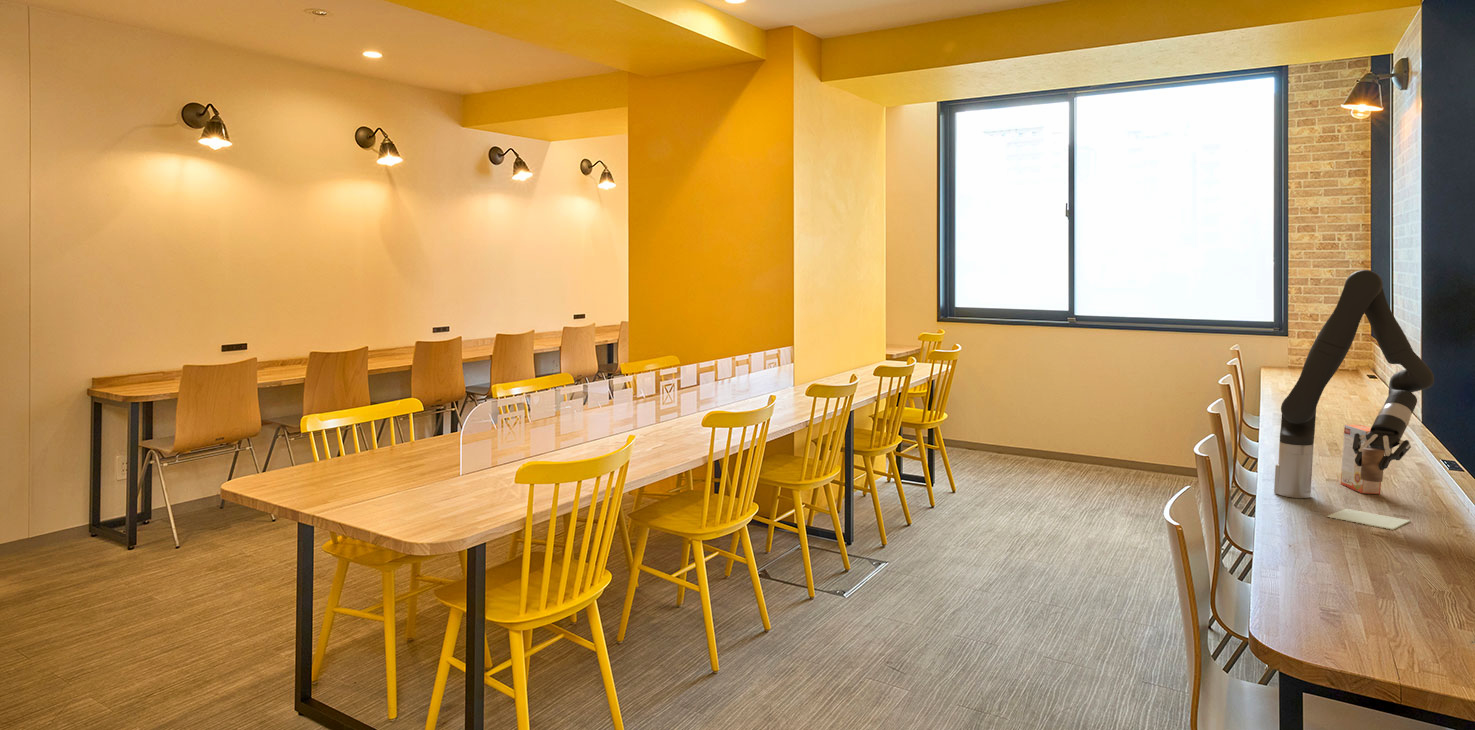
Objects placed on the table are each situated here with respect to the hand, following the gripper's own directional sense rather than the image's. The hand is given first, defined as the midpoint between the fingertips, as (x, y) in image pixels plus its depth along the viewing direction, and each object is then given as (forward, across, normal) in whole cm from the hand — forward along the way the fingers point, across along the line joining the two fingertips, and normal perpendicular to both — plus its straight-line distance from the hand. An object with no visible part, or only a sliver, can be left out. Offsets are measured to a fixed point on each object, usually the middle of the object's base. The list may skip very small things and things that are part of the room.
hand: (1369, 466), depth 245 cm
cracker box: (-17, -18, +40) cm, 47 cm away
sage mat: (+10, 0, +12) cm, 16 cm away
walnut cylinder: (+2, 0, +4) cm, 5 cm away
